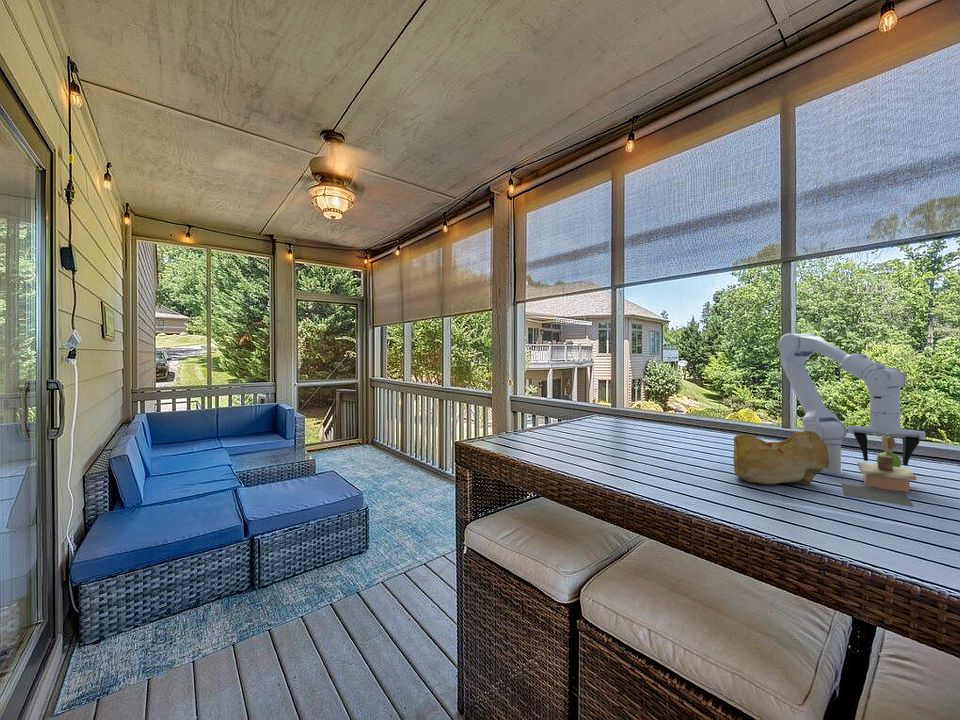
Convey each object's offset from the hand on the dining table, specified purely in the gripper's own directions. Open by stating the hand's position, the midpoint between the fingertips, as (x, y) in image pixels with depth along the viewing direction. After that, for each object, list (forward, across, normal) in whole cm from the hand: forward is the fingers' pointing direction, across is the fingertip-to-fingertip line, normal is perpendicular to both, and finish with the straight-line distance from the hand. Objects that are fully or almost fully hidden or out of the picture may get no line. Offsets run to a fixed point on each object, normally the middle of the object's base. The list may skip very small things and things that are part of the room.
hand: (884, 462), depth 107 cm
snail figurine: (+7, +3, +22) cm, 23 cm away
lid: (+3, 0, 0) cm, 3 cm away
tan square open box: (+7, 0, 0) cm, 7 cm away
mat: (+7, -3, -11) cm, 13 cm away
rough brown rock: (+7, -24, -10) cm, 27 cm away
